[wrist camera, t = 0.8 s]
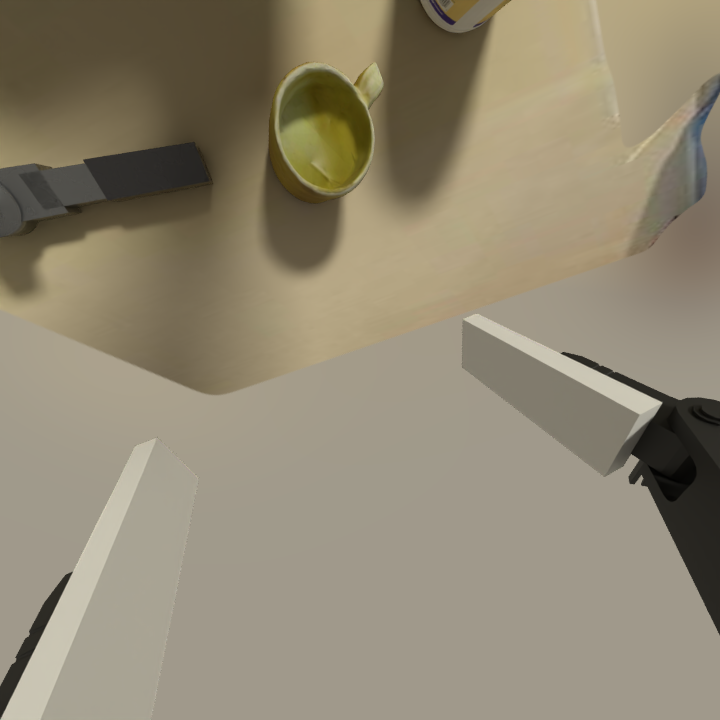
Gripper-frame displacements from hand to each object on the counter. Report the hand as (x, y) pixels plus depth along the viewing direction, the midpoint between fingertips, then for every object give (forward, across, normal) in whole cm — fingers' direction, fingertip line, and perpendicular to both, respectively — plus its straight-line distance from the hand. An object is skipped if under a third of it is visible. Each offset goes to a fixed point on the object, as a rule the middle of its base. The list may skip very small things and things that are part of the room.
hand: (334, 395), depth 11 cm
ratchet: (+28, -14, +12) cm, 33 cm away
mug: (+28, +9, +11) cm, 32 cm away
